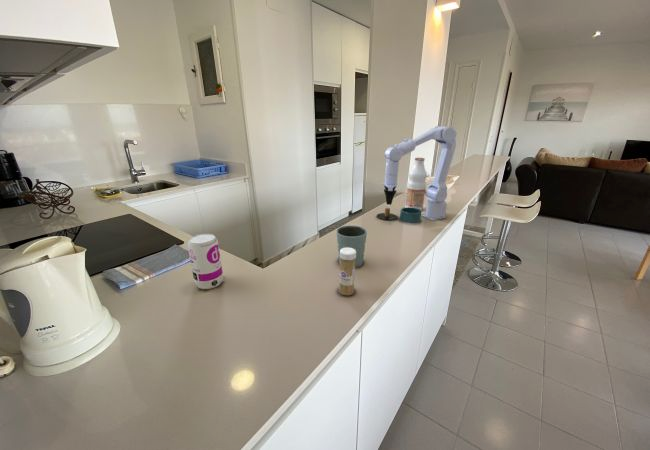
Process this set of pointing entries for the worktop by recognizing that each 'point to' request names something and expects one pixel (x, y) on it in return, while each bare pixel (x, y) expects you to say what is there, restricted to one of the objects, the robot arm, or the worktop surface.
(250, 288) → the worktop surface
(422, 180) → the fruit juice
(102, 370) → the worktop surface
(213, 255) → the supplement can
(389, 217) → the lid
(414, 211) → the pot
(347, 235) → the grey green cup
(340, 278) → the sprinkles bottle
